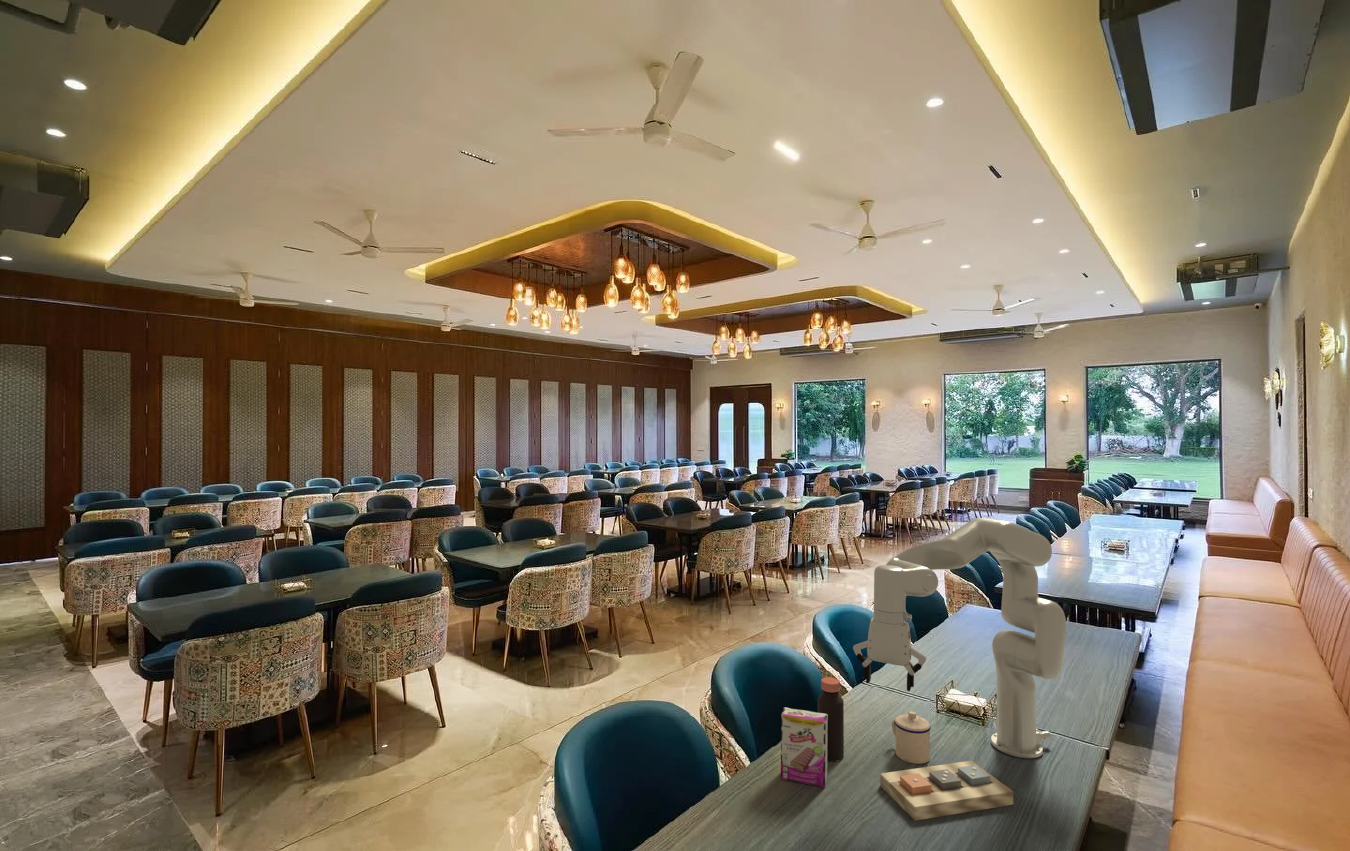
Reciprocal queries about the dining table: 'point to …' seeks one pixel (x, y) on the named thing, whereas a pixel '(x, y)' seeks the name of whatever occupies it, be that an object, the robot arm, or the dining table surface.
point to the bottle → (833, 717)
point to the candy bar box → (804, 746)
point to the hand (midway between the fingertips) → (888, 685)
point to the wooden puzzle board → (946, 793)
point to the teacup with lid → (912, 738)
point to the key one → (915, 784)
